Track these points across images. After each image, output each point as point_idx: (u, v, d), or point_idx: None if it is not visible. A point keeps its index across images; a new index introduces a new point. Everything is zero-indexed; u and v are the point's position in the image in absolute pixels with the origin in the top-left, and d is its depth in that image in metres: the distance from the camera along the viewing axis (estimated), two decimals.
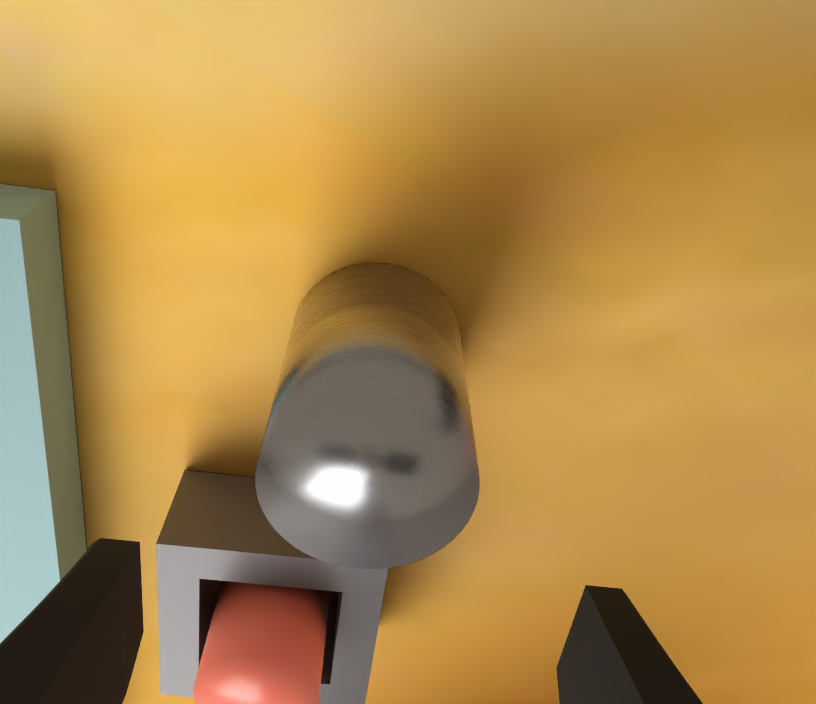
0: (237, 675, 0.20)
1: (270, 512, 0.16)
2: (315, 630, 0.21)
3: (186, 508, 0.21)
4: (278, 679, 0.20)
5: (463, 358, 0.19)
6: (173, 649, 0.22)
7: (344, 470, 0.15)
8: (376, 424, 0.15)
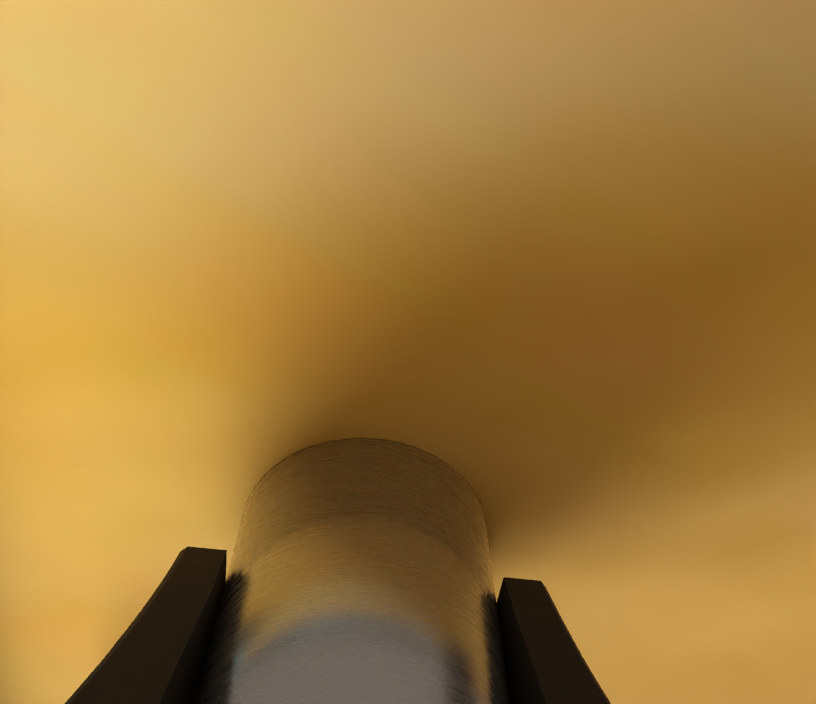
0: None
1: None
2: None
3: None
4: None
5: (494, 588, 0.13)
6: None
7: None
8: None
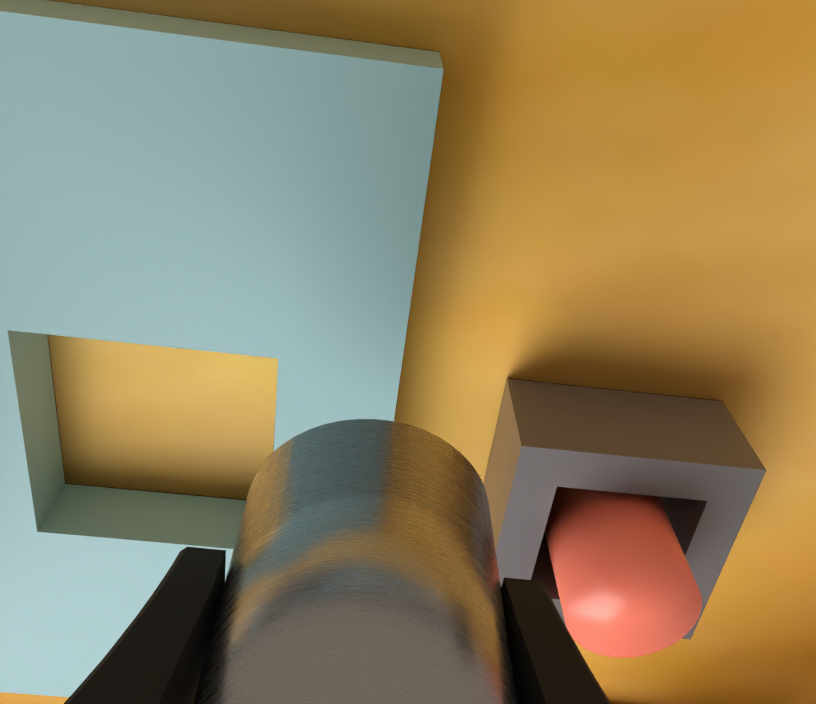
0: (620, 586, 0.18)
1: None
2: (678, 542, 0.19)
3: (530, 413, 0.20)
4: (664, 590, 0.18)
5: None
6: (506, 569, 0.20)
7: None
8: None
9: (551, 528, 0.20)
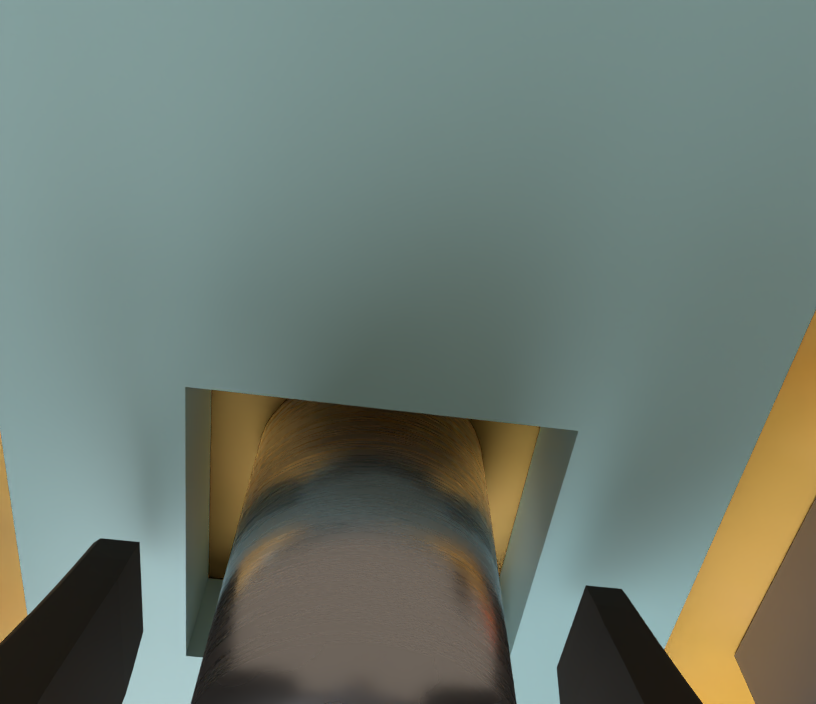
0: None
1: None
2: None
3: None
4: None
5: None
6: None
7: None
8: (378, 682, 0.09)
9: None
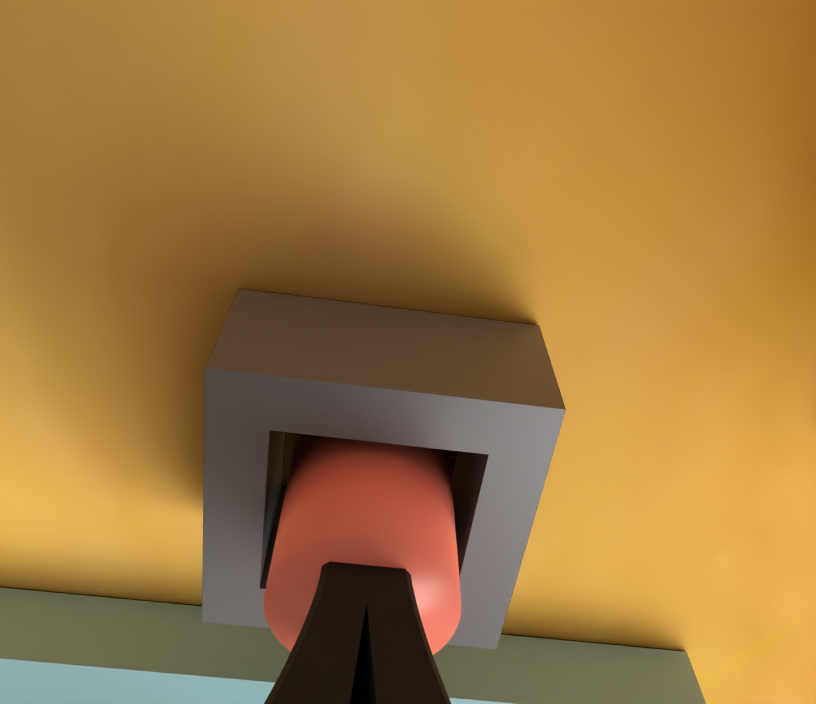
0: None
1: None
2: (320, 482, 0.13)
3: None
4: (317, 581, 0.12)
5: None
6: None
7: None
8: None
9: None
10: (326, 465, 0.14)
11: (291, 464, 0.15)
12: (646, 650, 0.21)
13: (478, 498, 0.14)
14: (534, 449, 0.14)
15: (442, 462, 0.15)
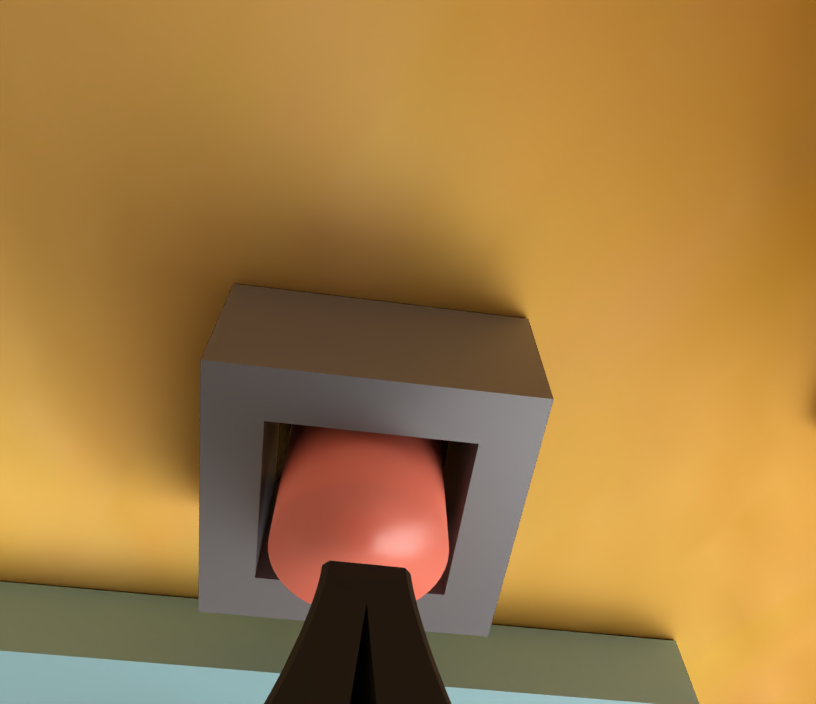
0: (312, 567, 0.14)
1: None
2: (319, 437, 0.14)
3: None
4: (317, 525, 0.14)
5: None
6: None
7: None
8: None
9: None
10: None
11: (291, 426, 0.16)
12: (636, 639, 0.21)
13: (469, 487, 0.14)
14: (523, 438, 0.14)
15: None
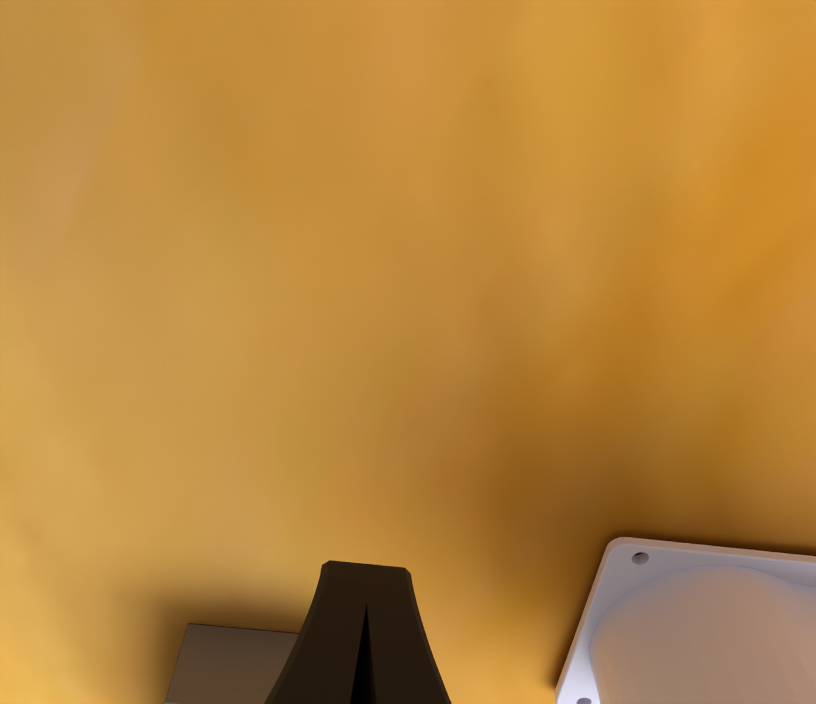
0: None
1: None
2: None
3: None
4: None
5: None
6: None
7: None
8: None
9: None
10: None
11: None
12: None
13: None
14: None
15: None
